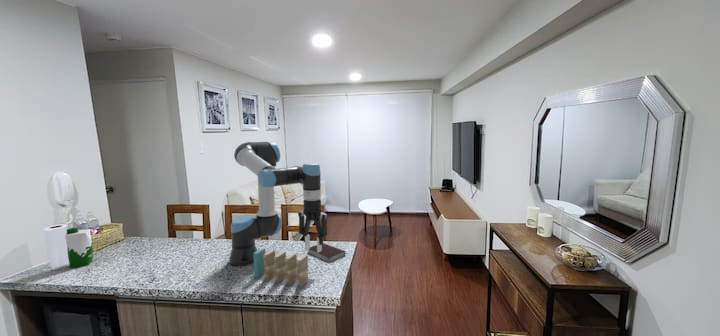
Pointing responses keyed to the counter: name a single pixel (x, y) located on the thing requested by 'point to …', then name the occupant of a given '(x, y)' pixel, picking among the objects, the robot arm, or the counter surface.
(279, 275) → the beige wooden block
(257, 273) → the tile
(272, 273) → the light wood flat block
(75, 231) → the milk carton
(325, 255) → the book
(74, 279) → the counter surface
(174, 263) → the counter surface
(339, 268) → the counter surface
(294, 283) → the runner mat
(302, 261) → the tile
